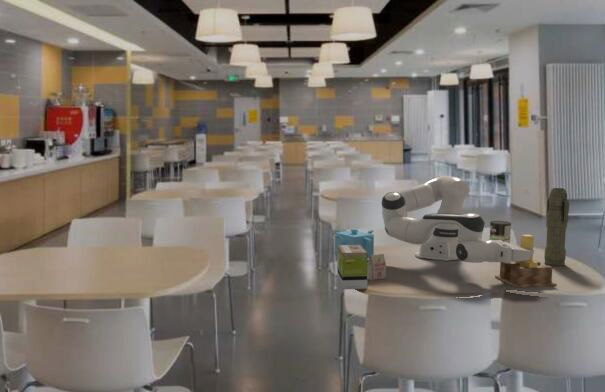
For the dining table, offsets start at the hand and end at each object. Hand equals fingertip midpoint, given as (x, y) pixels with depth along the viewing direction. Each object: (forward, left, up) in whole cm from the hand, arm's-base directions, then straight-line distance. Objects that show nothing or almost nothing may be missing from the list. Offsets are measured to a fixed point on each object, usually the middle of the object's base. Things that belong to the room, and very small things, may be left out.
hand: (528, 250), depth 247 cm
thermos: (+12, +38, -13) cm, 42 cm away
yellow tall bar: (-1, 0, -11) cm, 11 cm away
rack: (-1, 0, -13) cm, 13 cm away
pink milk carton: (-59, -17, -13) cm, 63 cm away
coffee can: (-13, +65, -13) cm, 67 cm away
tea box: (-66, -30, -13) cm, 74 cm away
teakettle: (-77, +14, -13) cm, 80 cm away
